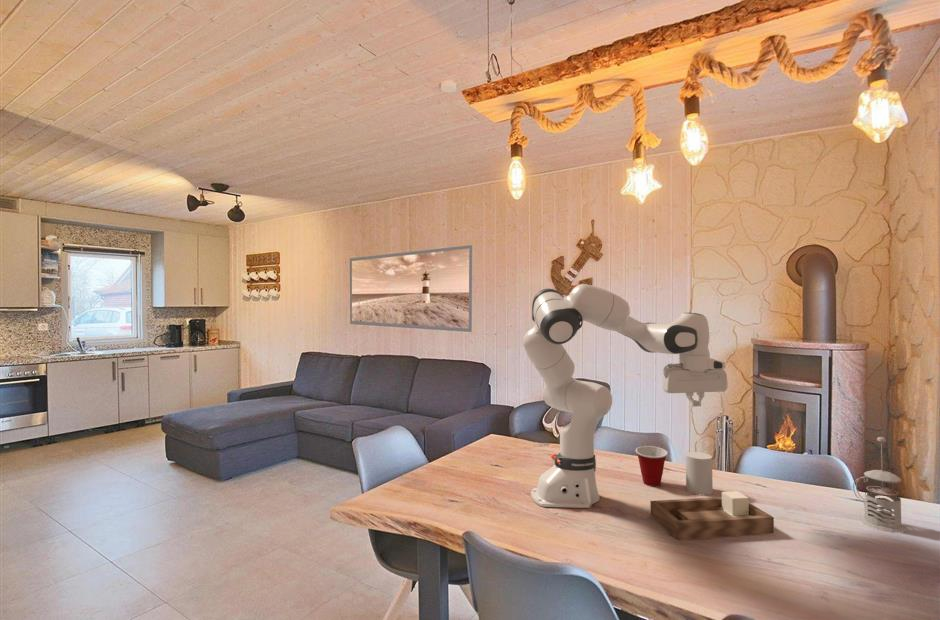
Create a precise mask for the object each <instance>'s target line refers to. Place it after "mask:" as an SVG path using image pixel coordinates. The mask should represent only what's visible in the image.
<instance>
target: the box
mask: <svg viewBox="0 0 940 620" xmlns="http://www.w3.org/2000/svg"><path fill="white" fill-rule="evenodd" d="M649 506H650V517H651V518H652V519H654V520H655V521H656V522H657V523H658V524H659V525H660V526H661V527H663V528H664V529H665V530H666V531H667V532H668V533H669V534H670V535H671V536H672V537H674V539H676V540H678V541H679V540H680V541H681V540H682V541H683V540H694V539H696V540H697V539H709V538H710V539H713V538H722V537H723V538H725V537H727V538H728V537H741V536H742V537H745V536H755V535H757V536H758V535H760V536H761V535H774V534H775V525H774V524H775V523H774V522H775V521H774V516H773V515H771V514H769V513H767V512H765V511H764V510H762V509H760V508H759V507H757V506H755V505H753V504H751V503H750V502H749V515H739V516H732V515H731V514H729V513H728V512H726V511H725V510H723V509H722V496H715V497H699V498H698V497H697V498H696V497H695V498H680V499H661V500H650V503H649Z"/></svg>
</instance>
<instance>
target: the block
mask: <svg viewBox="0 0 940 620" xmlns="http://www.w3.org/2000/svg"><path fill="white" fill-rule="evenodd" d="M721 497H722V509H723V510H725V511H726V512H728V513H729V514H731V515H732V516H739V515H749V503H750V502H749V500H750V498H749V497H748V496H747V495H745V494H743V493H741V492H739V491H738V490H736V491H735V490H734V491H723V492H722V491H721Z"/></svg>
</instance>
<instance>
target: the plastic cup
mask: <svg viewBox="0 0 940 620" xmlns="http://www.w3.org/2000/svg"><path fill="white" fill-rule="evenodd" d="M635 452H636V455H637V458H638V463H639V468H640V473H641V478H642V482H643V484H644V485H646V486H648V487H659V486H660V485H661V484H662V478H663V477H662V476H663V475H664V467H665V462H666V458H667V456H668V454H669V453H668V451H667V450H666V449H664V448H661V447H659V446H653V445H644V446H639V447H636V448H635Z"/></svg>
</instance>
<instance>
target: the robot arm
mask: <svg viewBox="0 0 940 620" xmlns="http://www.w3.org/2000/svg"><path fill="white" fill-rule="evenodd" d="M531 307H532V308H531V310H532V311H531V319H532V321H533V322H534V325H533V326H532V327H531V328H529V329H528V330H527V331H526V332H525V334H524V336H523V338H522V343H523V347H524V349H525V352H526V354H527V356H528V358H529V360H530V362H531V363H532V365H533V366H534V368H535V369H536V370H537V372H538V374H540V376H541V378H542V379H543V381H544V383H545V384H544V386H543V388H542V400H543V401H544V403H545V404H546V405H547V406H549V407H551V408H553V409H556V410H557V411H562V412H567V413H571V420H570V423H568V424H566V425H564V426H563V427H562V428H561V430H560V432H559V449H560V450H559V453H558V454H557V453H555V452H552V453H551V454H550V458H551V459H552V460H553V461H554V464H553V465H552V466H551V467H550V468H549V469H547V470H545V471H544V472H543V473H542V474H541V475H539V478H538V483H537V487H534V488H532V489H531V493H530V494H531V495H530V496H531V498H532V500H533V501H534V502H535V503H536V504H537V505H539V506H541V507H543V508H546V507H547V508H575V509H576V508H577V509H582V508H583V509H588V508H589V509H590V508H591V507H592V505H593V504H595V503H598V502H599V501H600V499H601V498H600V494H599V490H598V485H597V481H596V480H597V479H596V467H597V461H596V454H595V432H596V428H597V425H598V423H599V422H600V421H601V419H602V418H603V417H604V416H606V415H608V413H609V411H610V410H611V409H612V405H613V396H612V393H611V391H610V389H609V388H608V387H606V386H604V385H602V384H599V383H596V382H592V381H585V380H578V379H575V378H574V377H573V375H574V373H575V363H574V361H573V360H572V358H571V356H570V354H569V353H568V351H567V350H566V349H565V347H564V346H563V345H564V344H566V343H568V342H569V341H571V340H572V339H573V338H574V337H575V336H576V334H577V333H578V331H579V330H580V329H581V328H582V326H583V323H584V321H585V322H587V323H589V324H592V325H593V326H597V327H598V328H602V329H604V330H608V331H613V332H617V333H618V334H621V335H622V336H625V337H627V338H629V339H631V340H632V341H634V342H635V344H637V346H638V347H639V348H640V349H641V350H642V351H644V352H647V353H658V354H659V353H660V354H666V355H678V356H679V357H678V360H679V361H678V362H679V363H667V365H665V366H664V367H663V370H662V371H663V380H662V390H663V392H665V393H667V394H685V396H686V398H687V399H688V402H689V406H690V407H691V408H692V407H694V408H695V407H701V406H702V400H703V399H704V397H705V393H716V392H717V393H718V392H726V391H727V389H728V376H727V372H726V369H725V368H726V363H725V362H723V361H721V360H717V359H715V358H711V356H710V351H709V343H710V328H709V327H710V326H709V322H708V319H707V316H705V314H701V313H696V312H682V313H680V316H678V317H677V318H676V319H674V320H672V321H670V322H669V323H658V322H657V323H656V322H641V321H639V320H638V319H635V318H633V316H632V317H631V316H630V313H631V311H630V310H631V309H630V306H629V303H628V302H627V301H626V300H625V299H624V298H623V297H621V296H619V295H617V294H616V293H613V292H611V291H609V290H606V289H605V288H602V287H598V286H595V285H591V284H586V283H580V284H578V285H576V286H574V287H573V289H572V290H571V291H570V292H569V294H568V295H567V296H564V295H563V294H562V293H561V292H559V291H558V290H556V289H554V288H544V289H541V290H539V291H538V292H537V293H536V294H535V296H534V297H533V299H532V304H531ZM694 393H695V394H696V395H697V396H696V398H695V399H694Z"/></svg>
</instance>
